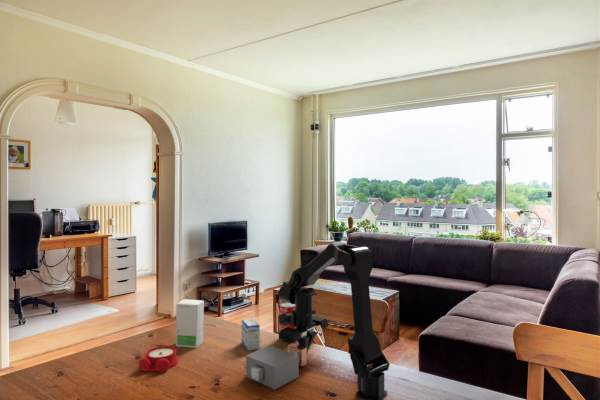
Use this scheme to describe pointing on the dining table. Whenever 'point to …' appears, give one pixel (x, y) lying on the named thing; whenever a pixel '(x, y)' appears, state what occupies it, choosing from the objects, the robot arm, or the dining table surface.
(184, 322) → the skincare box
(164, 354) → the alarm clock
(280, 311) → the soda can
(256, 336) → the medicine box
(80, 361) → the dining table surface
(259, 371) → the shaft
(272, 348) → the housing
